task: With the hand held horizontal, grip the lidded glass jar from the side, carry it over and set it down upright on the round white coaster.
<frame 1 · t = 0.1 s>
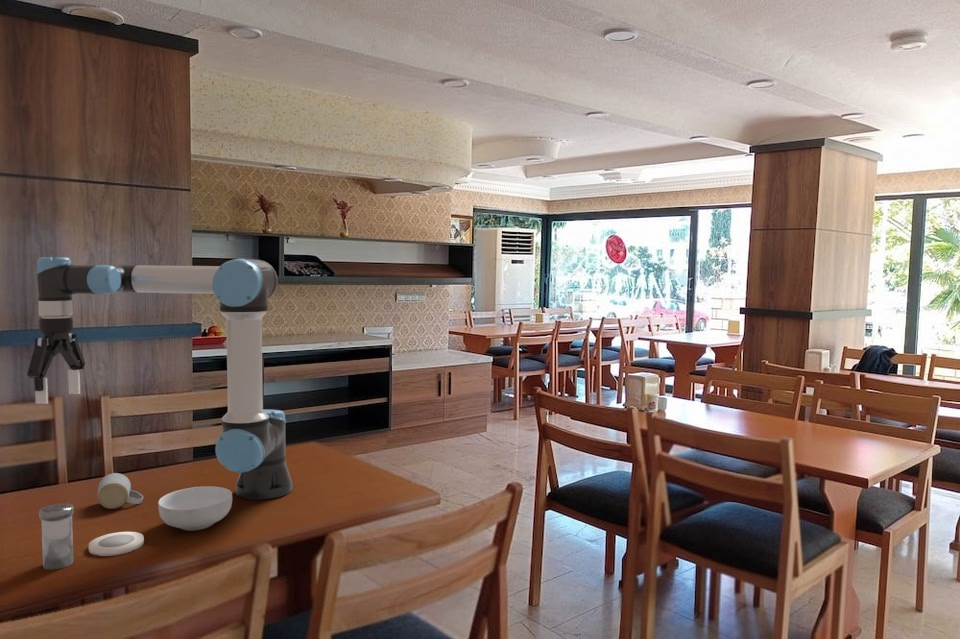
hand: (58, 398, 184), 28 cm above the table, tool pointing down, fingers open, 13 cm apart
round white coaster: (116, 546, 159), on the table
ceramic mug: (120, 505, 186), on the table
cereal bowl: (196, 525, 172), on the table
lidded glass jar: (58, 564, 149), on the table
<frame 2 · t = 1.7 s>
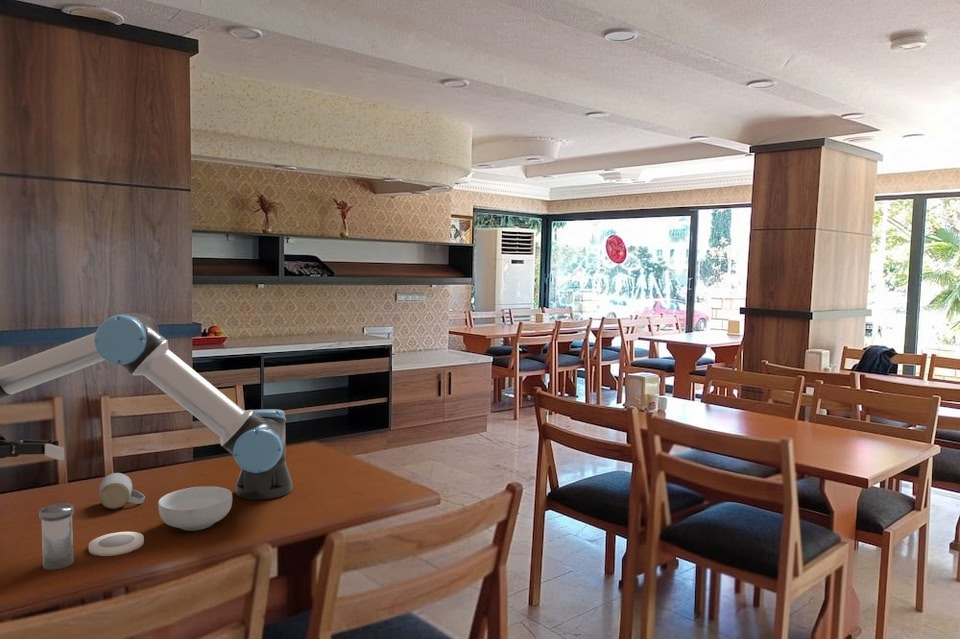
hand: (30, 460, 153), 21 cm above the table, tool horizontal, fingers open, 13 cm apart
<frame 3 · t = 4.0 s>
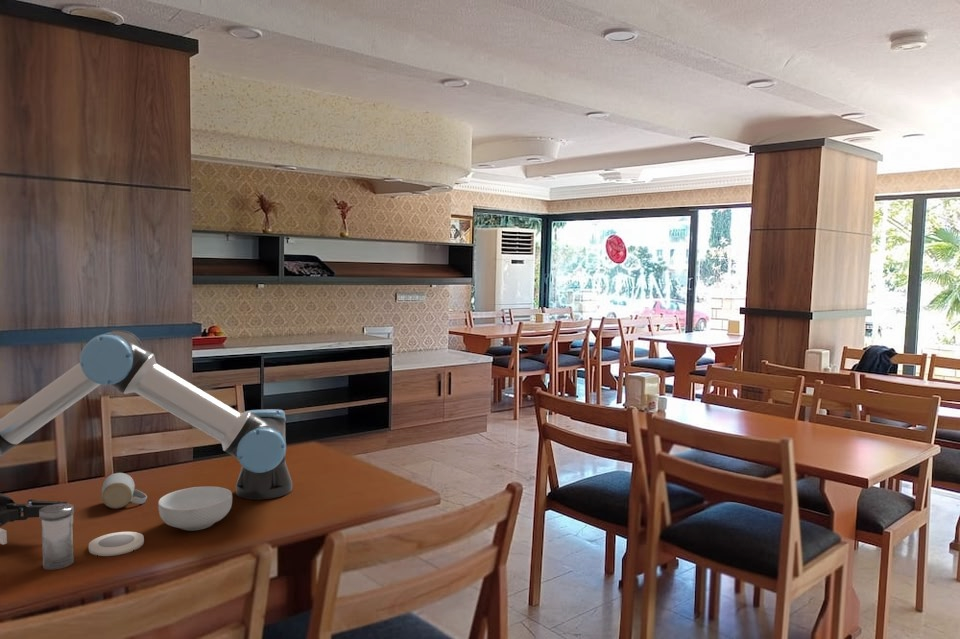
hand: (39, 527, 151), 7 cm above the table, tool horizontal, fingers open, 13 cm apart
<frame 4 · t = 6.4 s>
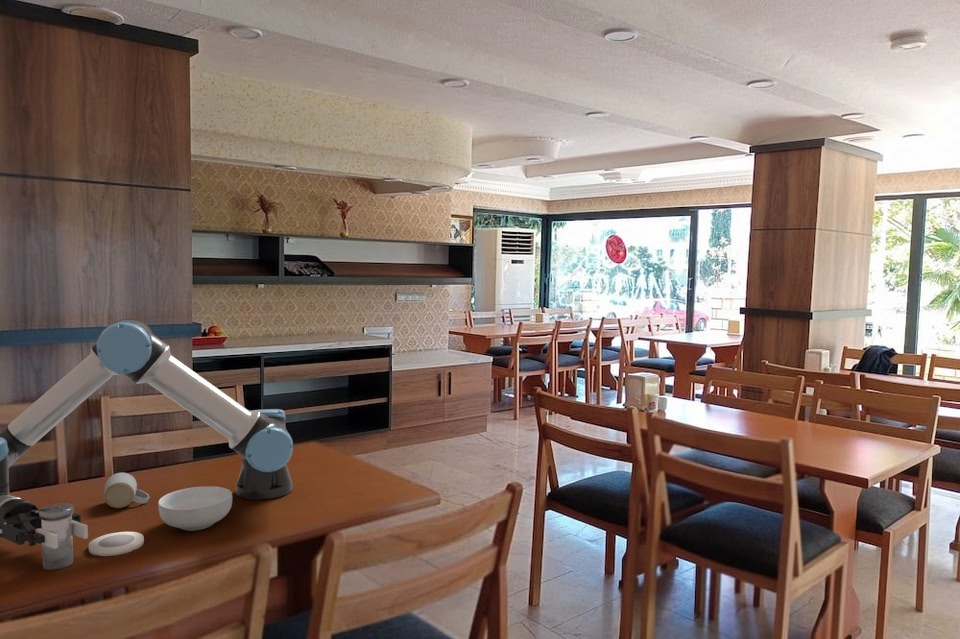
hand: (71, 536, 146), 7 cm above the table, tool horizontal, fingers closed on lidded glass jar, 5 cm apart
lidded glass jar: (58, 564, 149), on the table, touching gripper
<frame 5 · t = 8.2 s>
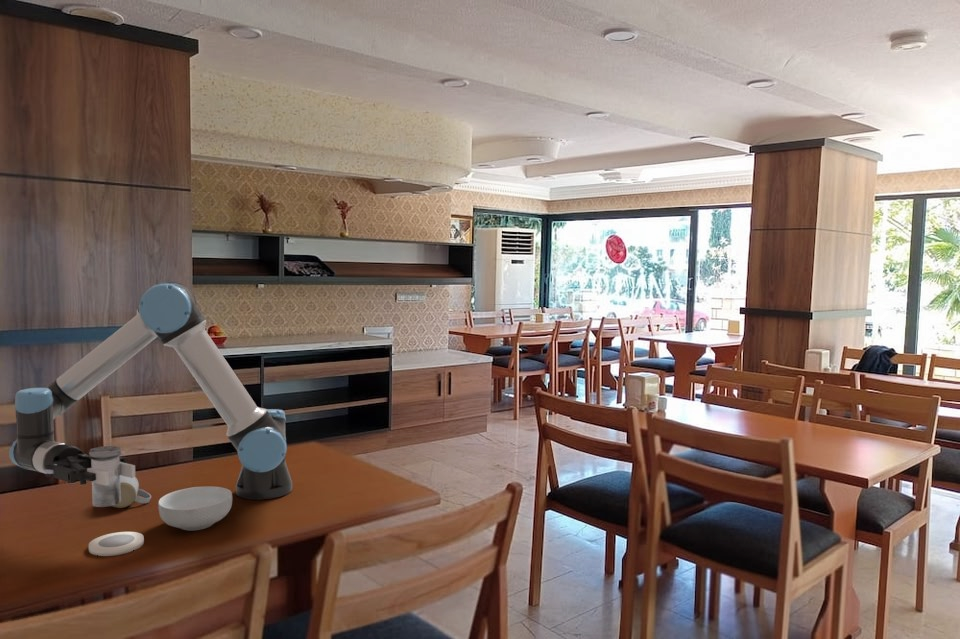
hand: (120, 475, 153), 18 cm above the table, tool horizontal, fingers closed on lidded glass jar, 5 cm apart
lidded glass jar: (106, 502, 156), point 10 cm above the table, touching gripper
when the fingers open (10 cm above the table, at t = 10.2 s): lidded glass jar drops 1 cm, resting on round white coaster.
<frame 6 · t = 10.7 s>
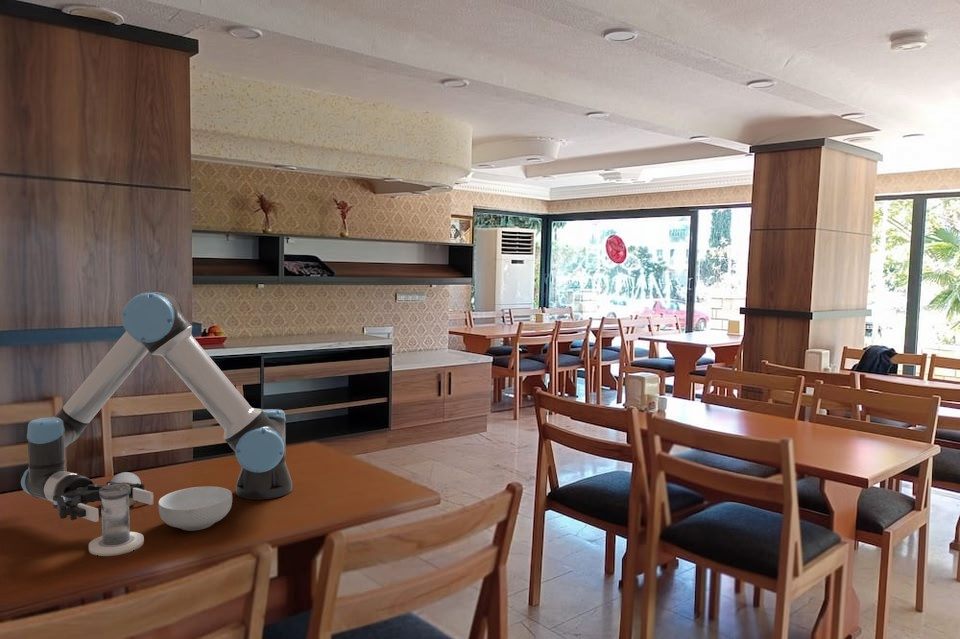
hand: (125, 506, 156), 10 cm above the table, tool horizontal, fingers open, 12 cm apart
lidded glass jar: (116, 540, 159), point 1 cm above the table, touching round white coaster
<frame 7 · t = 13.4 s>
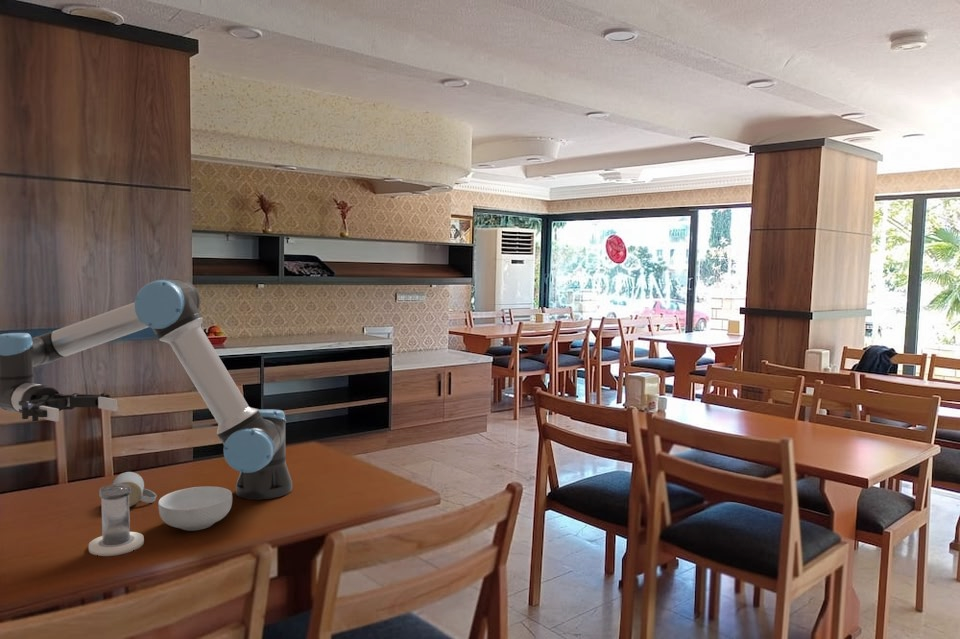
hand: (87, 410, 161), 30 cm above the table, tool horizontal, fingers open, 13 cm apart
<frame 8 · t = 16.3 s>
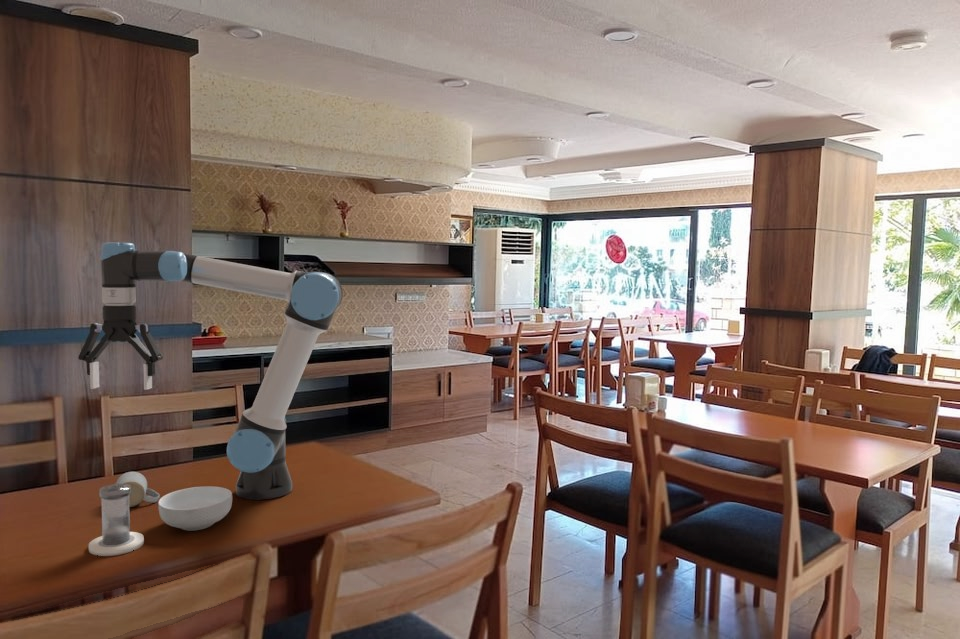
hand: (121, 388, 179), 32 cm above the table, tool pointing down, fingers open, 13 cm apart
at the end: lidded glass jar 0.1 cm from the round white coaster (horizontally); lidded glass jar tilted 0°; the gripper is holding nothing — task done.
